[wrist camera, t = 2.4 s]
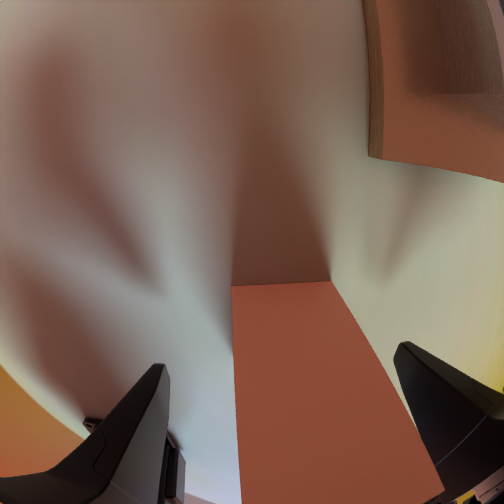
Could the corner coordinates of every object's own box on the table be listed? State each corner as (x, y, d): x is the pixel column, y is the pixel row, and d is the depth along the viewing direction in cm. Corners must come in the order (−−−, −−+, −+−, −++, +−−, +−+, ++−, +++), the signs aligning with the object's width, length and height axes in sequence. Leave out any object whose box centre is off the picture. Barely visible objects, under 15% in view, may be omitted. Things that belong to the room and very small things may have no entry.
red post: (234, 359, 12) (248, 552, 4) (231, 286, 11) (246, 548, 2) (318, 352, 13) (377, 525, 4) (331, 281, 11) (444, 490, 3)
